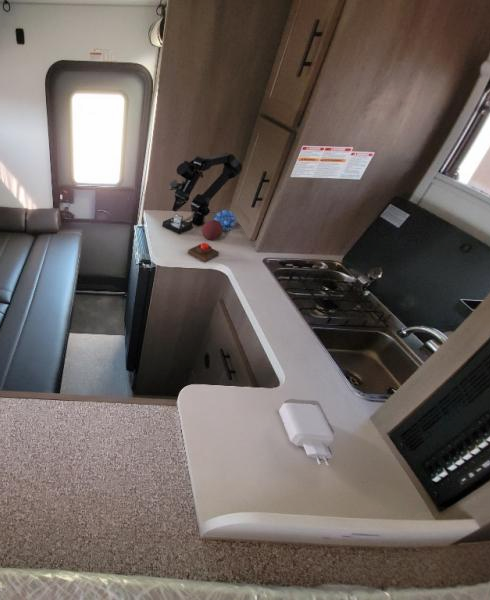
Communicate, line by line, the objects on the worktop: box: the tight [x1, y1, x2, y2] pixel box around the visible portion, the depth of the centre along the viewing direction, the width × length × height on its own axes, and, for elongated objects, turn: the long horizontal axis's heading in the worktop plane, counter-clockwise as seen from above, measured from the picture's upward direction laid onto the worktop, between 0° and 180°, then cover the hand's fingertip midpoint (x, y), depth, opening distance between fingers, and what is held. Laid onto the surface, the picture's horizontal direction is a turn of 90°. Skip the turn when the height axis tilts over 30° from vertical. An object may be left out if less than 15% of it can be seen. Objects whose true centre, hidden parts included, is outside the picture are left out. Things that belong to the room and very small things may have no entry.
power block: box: [187, 243, 220, 263], centre depth 155 cm, size 10×10×4 cm
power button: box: [200, 242, 210, 250], centre depth 153 cm, size 4×4×2 cm
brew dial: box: [173, 213, 184, 224], centre depth 175 cm, size 5×1×4 cm, turn 37°
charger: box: [278, 402, 336, 467], centre depth 82 cm, size 5×9×15 cm
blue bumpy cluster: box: [213, 209, 237, 232], centre depth 171 cm, size 12×7×12 cm, turn 88°
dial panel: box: [161, 216, 193, 235], centre depth 177 cm, size 10×12×3 cm
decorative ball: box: [201, 219, 224, 241], centre depth 165 cm, size 10×10×10 cm
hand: (173, 210), depth 169 cm, fingers open, 9 cm apart
